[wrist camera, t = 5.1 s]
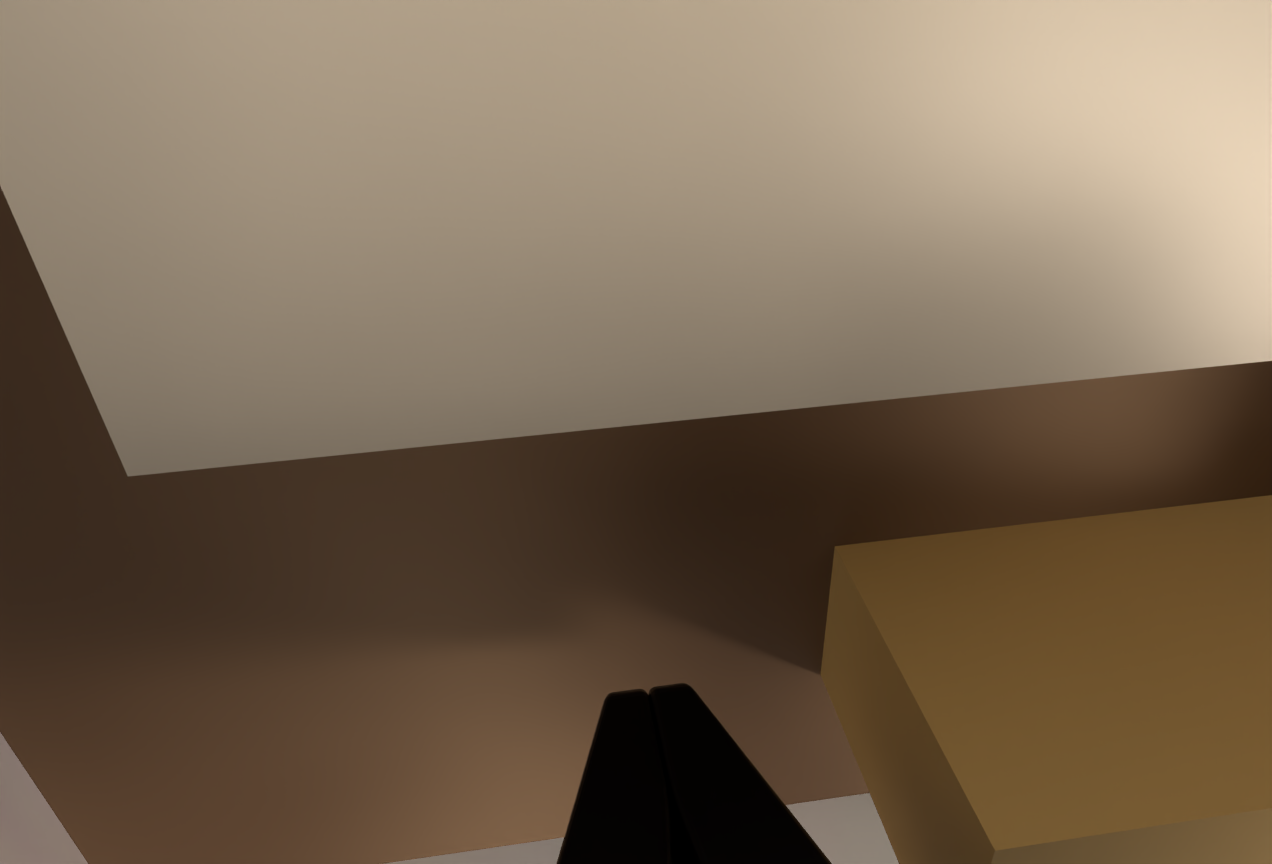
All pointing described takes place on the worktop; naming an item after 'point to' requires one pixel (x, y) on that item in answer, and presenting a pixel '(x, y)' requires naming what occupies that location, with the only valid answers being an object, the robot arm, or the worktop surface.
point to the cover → (624, 207)
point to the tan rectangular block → (1063, 687)
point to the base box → (492, 594)
